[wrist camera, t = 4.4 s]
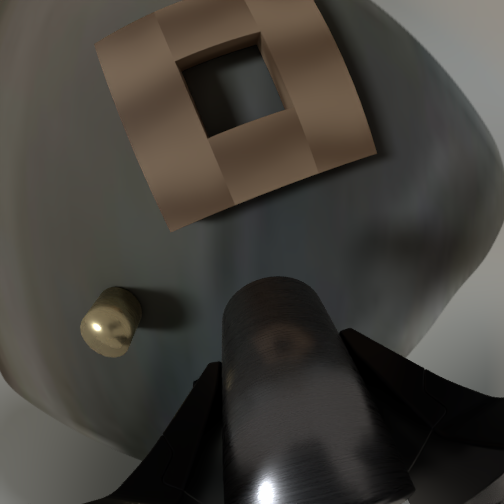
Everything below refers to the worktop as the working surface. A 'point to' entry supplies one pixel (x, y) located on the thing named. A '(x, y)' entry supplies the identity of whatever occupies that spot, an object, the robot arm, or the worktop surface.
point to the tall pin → (299, 407)
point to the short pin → (112, 322)
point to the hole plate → (244, 136)
